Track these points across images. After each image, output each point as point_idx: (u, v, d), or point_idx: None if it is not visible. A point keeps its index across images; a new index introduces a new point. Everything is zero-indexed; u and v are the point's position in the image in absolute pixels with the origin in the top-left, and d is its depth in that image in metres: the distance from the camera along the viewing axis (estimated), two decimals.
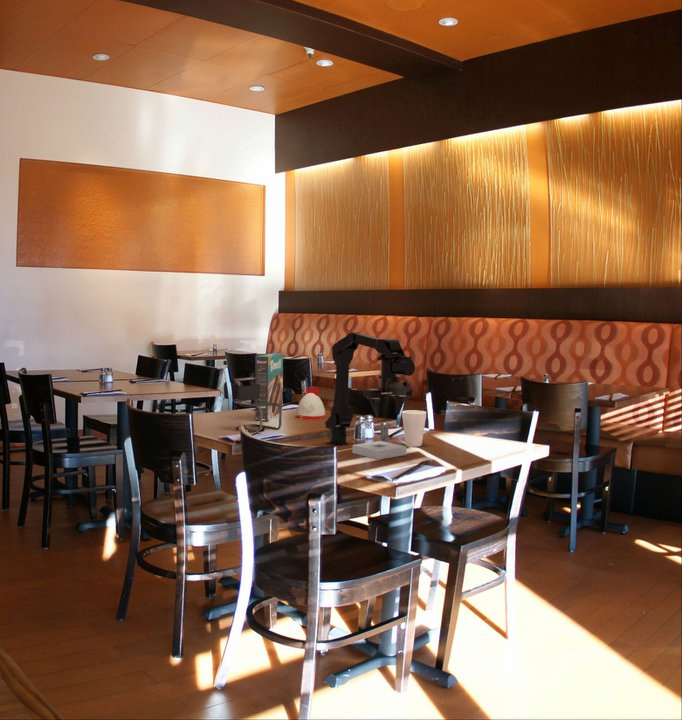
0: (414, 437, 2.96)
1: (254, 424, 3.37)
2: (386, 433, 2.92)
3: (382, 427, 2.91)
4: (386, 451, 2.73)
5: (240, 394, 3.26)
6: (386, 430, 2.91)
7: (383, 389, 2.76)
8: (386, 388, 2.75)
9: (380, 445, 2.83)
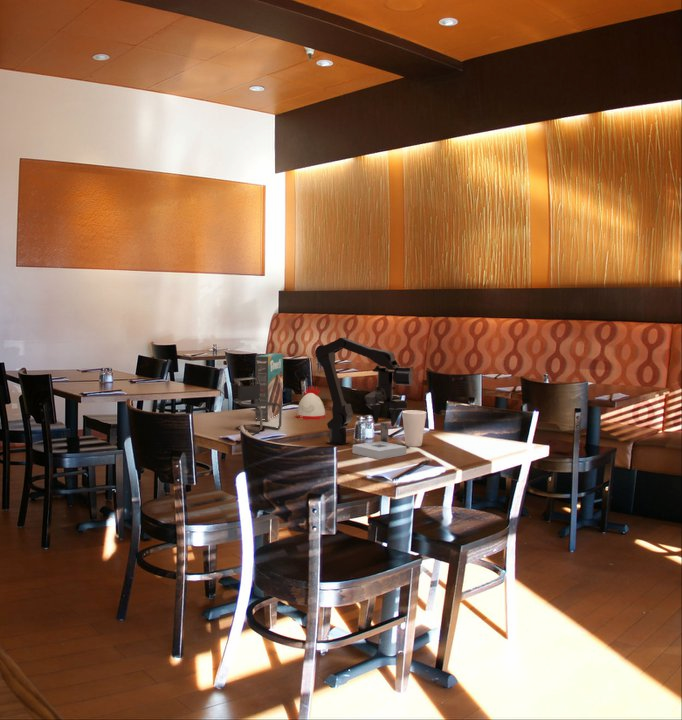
0: (414, 437, 2.96)
1: (254, 424, 3.37)
2: (386, 433, 2.92)
3: (382, 427, 2.91)
4: (386, 451, 2.73)
5: (240, 394, 3.26)
6: (386, 430, 2.91)
7: None
8: None
9: (380, 445, 2.83)
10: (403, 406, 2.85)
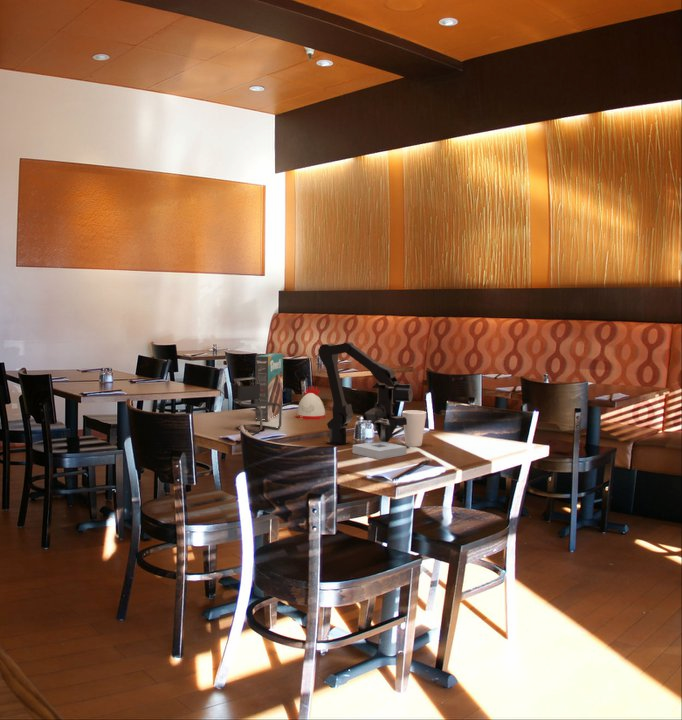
0: (414, 437, 2.96)
1: (254, 424, 3.37)
2: None
3: (382, 427, 2.91)
4: (386, 451, 2.73)
5: (240, 394, 3.26)
6: None
7: None
8: None
9: (380, 445, 2.83)
10: (403, 423, 2.86)
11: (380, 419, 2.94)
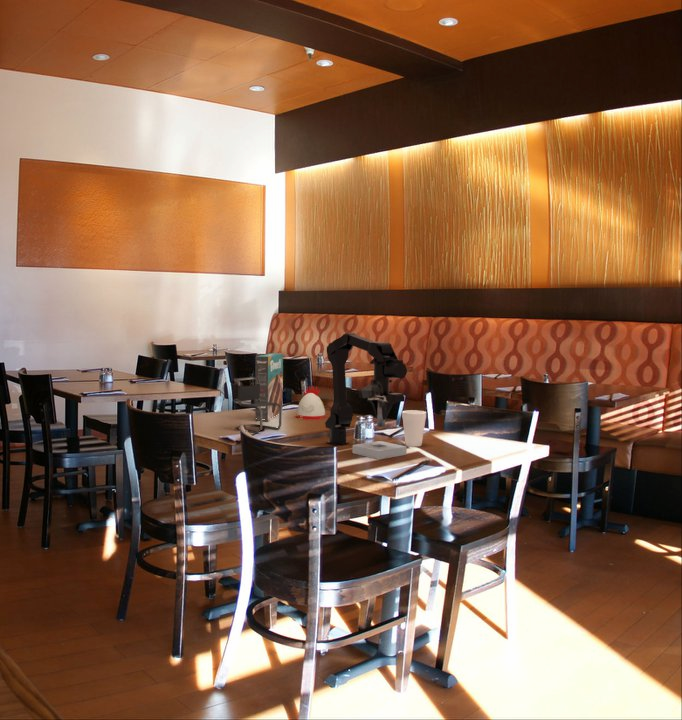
0: (414, 437, 2.96)
1: (254, 424, 3.37)
2: None
3: (379, 404, 2.79)
4: (386, 451, 2.73)
5: (240, 394, 3.26)
6: None
7: None
8: None
9: (380, 445, 2.83)
10: (401, 399, 2.74)
11: (376, 396, 2.81)
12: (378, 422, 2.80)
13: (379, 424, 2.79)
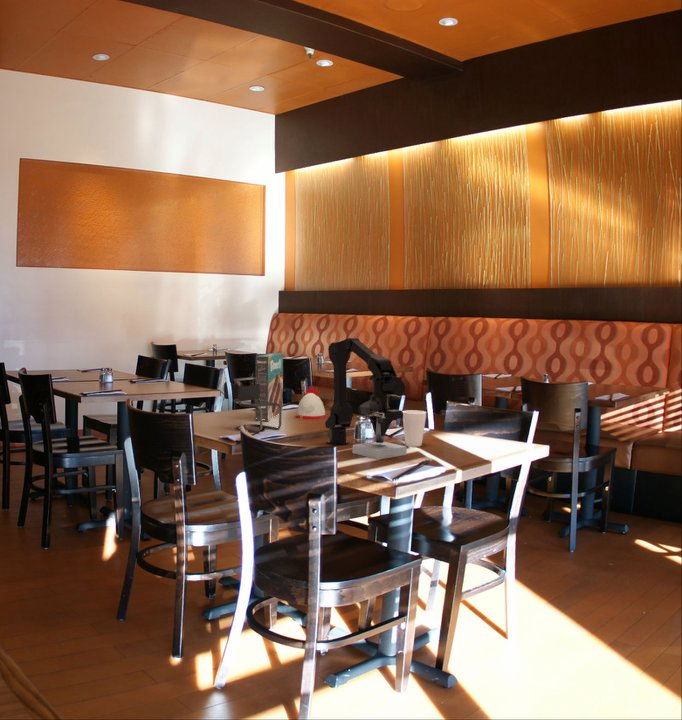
0: (414, 437, 2.96)
1: (254, 424, 3.37)
2: None
3: (377, 421, 2.79)
4: (386, 451, 2.73)
5: (240, 394, 3.26)
6: None
7: None
8: None
9: (380, 445, 2.83)
10: (399, 416, 2.73)
11: (375, 412, 2.81)
12: (376, 438, 2.79)
13: (377, 440, 2.79)
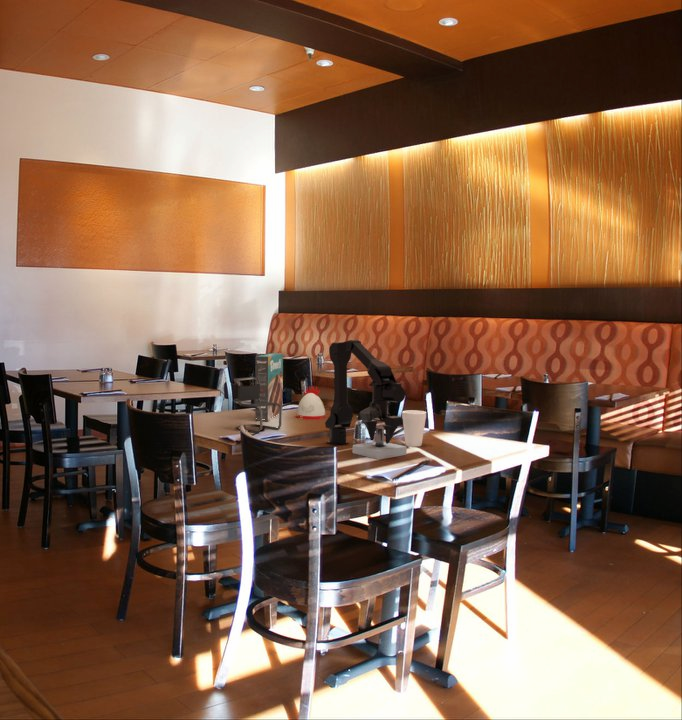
0: (414, 437, 2.96)
1: (254, 424, 3.37)
2: (381, 439, 2.79)
3: (377, 433, 2.79)
4: (386, 451, 2.73)
5: (240, 394, 3.26)
6: (381, 436, 2.79)
7: None
8: None
9: None
10: (399, 423, 2.73)
11: None
12: None
13: None
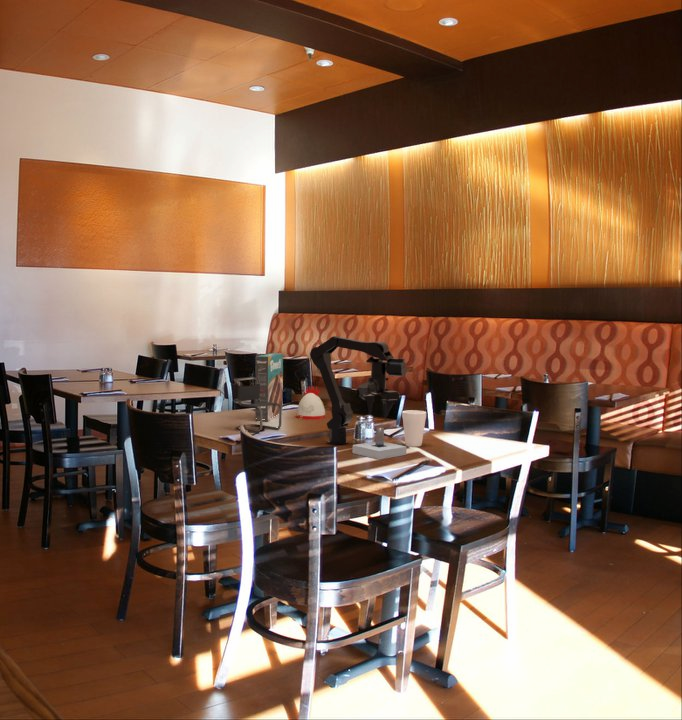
0: (414, 437, 2.96)
1: (254, 424, 3.37)
2: (381, 439, 2.79)
3: (377, 433, 2.79)
4: (386, 451, 2.73)
5: (240, 394, 3.26)
6: (381, 436, 2.79)
7: None
8: None
9: None
10: (395, 397, 2.85)
11: None
12: None
13: None
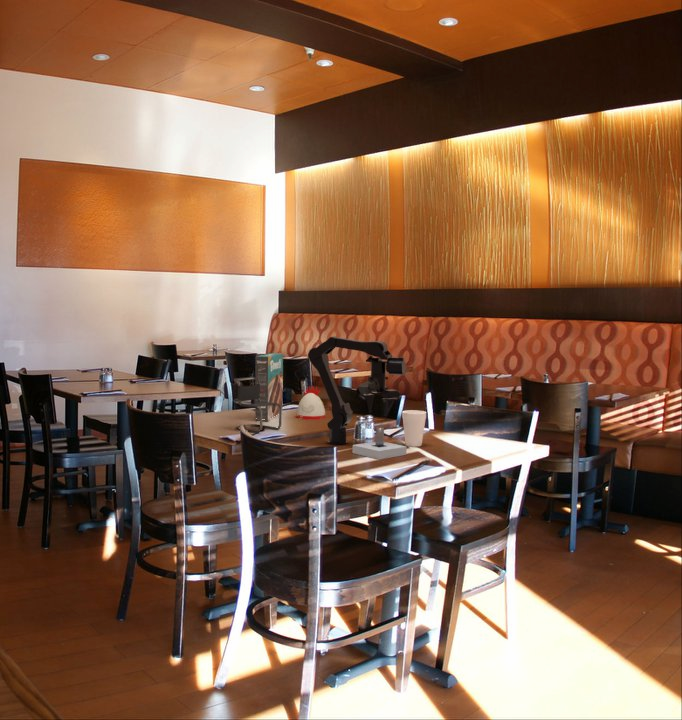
0: (414, 437, 2.96)
1: (254, 424, 3.37)
2: (381, 439, 2.79)
3: (377, 433, 2.79)
4: (386, 451, 2.73)
5: (240, 394, 3.26)
6: (381, 436, 2.79)
7: None
8: None
9: None
10: (396, 396, 2.87)
11: None
12: None
13: None
